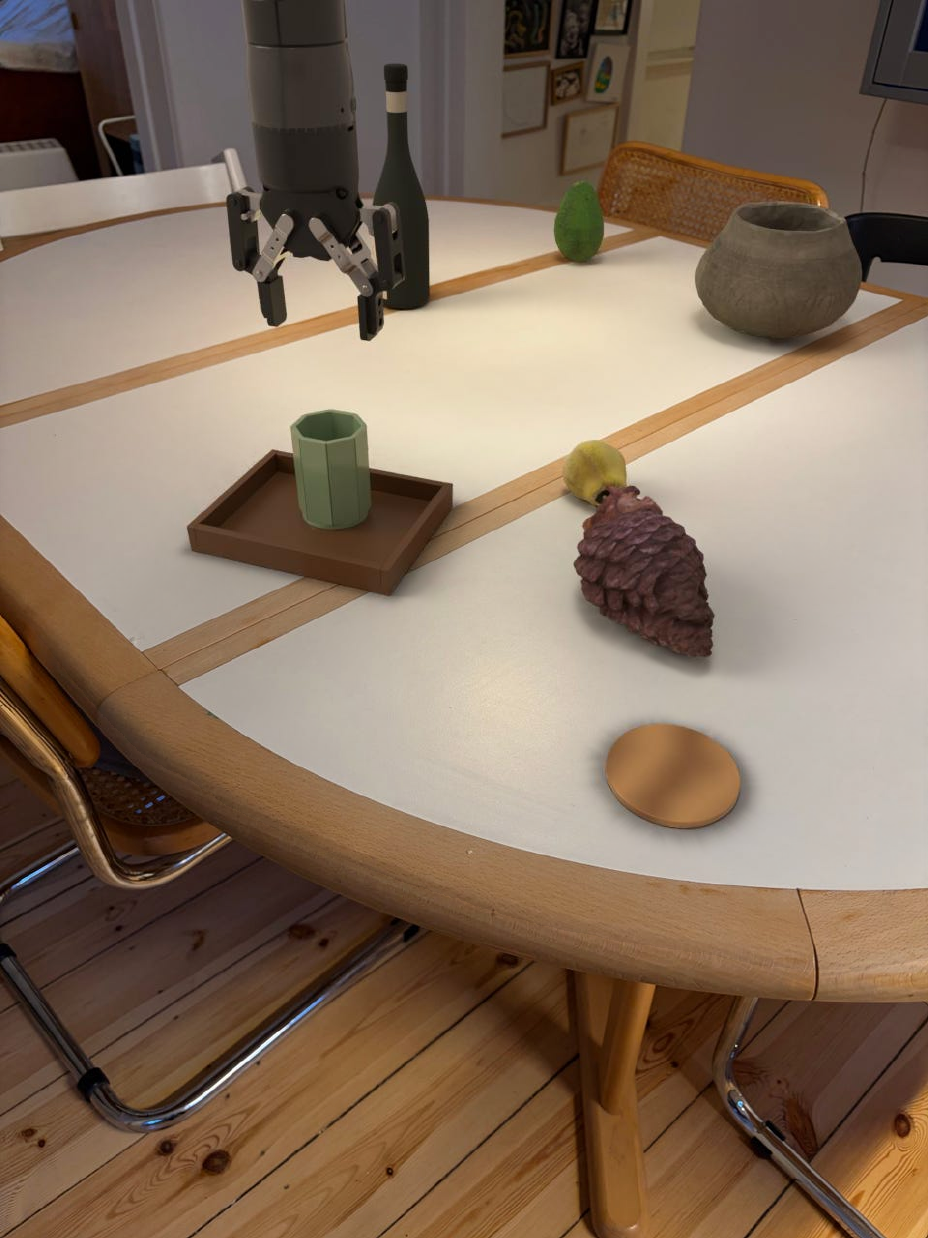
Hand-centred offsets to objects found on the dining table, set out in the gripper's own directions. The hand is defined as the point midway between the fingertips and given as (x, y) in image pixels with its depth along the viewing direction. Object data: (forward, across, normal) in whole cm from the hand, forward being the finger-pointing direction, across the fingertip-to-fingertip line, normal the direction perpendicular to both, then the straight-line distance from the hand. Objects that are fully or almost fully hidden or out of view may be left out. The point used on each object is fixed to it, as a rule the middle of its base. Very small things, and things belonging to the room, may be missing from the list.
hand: (323, 330), depth 78 cm
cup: (+18, 0, 0) cm, 18 cm away
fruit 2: (+19, +22, +12) cm, 32 cm away
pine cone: (+19, +30, -5) cm, 35 cm away
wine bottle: (+19, -18, +57) cm, 63 cm away
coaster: (+18, +36, -22) cm, 46 cm away
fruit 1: (+19, +1, +85) cm, 87 cm away
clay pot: (+19, +33, +66) cm, 76 cm away
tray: (+18, 0, -2) cm, 19 cm away
